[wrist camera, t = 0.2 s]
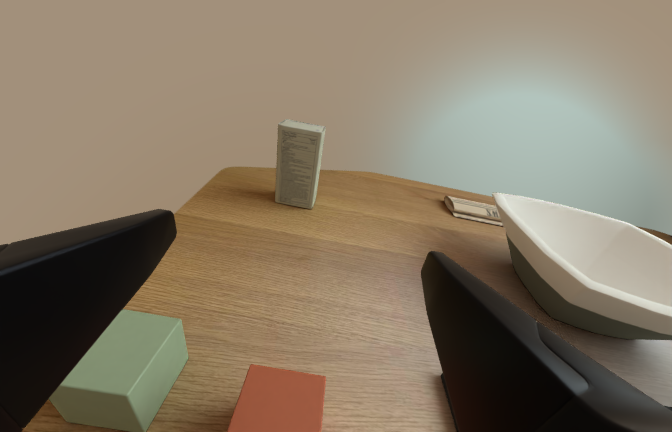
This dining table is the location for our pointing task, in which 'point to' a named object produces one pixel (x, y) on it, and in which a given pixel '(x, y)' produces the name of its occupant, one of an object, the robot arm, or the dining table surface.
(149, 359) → the pale green cube
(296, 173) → the cosmetic box
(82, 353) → the robot arm
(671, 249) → the bowl
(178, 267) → the dining table surface
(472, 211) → the newspaper
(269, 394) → the reddish brown cube
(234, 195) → the dining table surface
